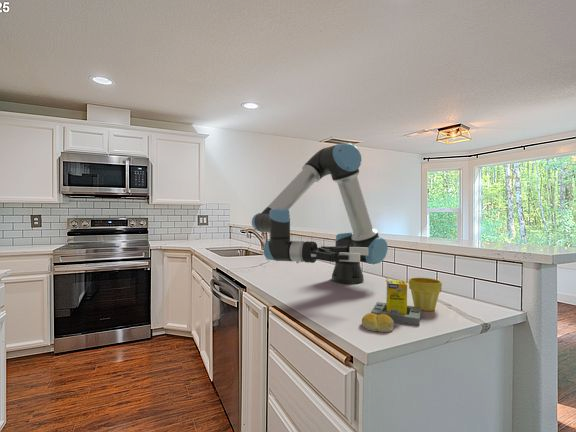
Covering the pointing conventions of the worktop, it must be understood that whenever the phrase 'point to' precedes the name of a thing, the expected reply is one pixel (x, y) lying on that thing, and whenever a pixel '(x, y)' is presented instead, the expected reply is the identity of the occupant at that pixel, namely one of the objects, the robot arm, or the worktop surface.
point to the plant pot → (425, 292)
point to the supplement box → (396, 297)
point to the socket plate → (402, 318)
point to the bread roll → (378, 322)
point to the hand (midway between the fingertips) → (364, 254)
